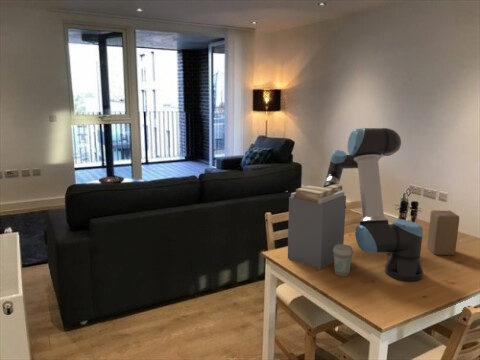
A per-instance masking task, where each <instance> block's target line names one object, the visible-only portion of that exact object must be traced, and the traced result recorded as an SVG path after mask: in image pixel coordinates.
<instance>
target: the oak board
mask: <svg viewBox="0 0 480 360" xmlns="http://www.w3.org/2000/svg"><path fill="white" fill-rule="evenodd" d="M340 191H343V184H339V185H338V184H334V185H331V186H327V187H323V186H319V185H318V186H316V185H313V184H310V185H306V186H303V187H299V188H295V192H296V198H299V199H303V200H308V201H313V202H318V199H319V198H322V197H325V196H328V195H331V194H333V193H335V192H340Z"/></svg>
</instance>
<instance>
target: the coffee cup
mask: <svg viewBox="0 0 480 360" xmlns="http://www.w3.org/2000/svg"><path fill="white" fill-rule="evenodd" d="M333 252H334V262H333V265H334V266H333V267H334V274H335V275H336V276H339V277H347V276H349V274H350V270H351V269H350V268H351V264H352V258H353V254H354V250H353V247H352V246H351V245H348V244H344V243H343V244H338V245H335V246H334V248H333Z"/></svg>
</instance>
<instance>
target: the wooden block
mask: <svg viewBox="0 0 480 360" xmlns="http://www.w3.org/2000/svg"><path fill="white" fill-rule="evenodd" d="M459 224H460V216H459V215H458V214H456V213H455V212H453V211H451V210H437V209H436V210H431V211H430V217H429V228H428V236H427V246H426V247H427V249H428V250H429V251H430V252H431V253H432V254H433V255H435V256H436V255H437V256H455V255H456V250H457V242H458V241H457V240H458V233H459V227H460V226H459Z"/></svg>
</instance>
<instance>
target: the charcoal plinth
mask: <svg viewBox="0 0 480 360" xmlns="http://www.w3.org/2000/svg"><path fill="white" fill-rule="evenodd" d="M346 203H347V196H346V195H345V190H341V191H338V192H337V193H334V194H331V195H328V196H325V197H322V198H319V199H318V202H313V201H308V200H303V199H299V198H296V191H294V192H291V193H290V196H289V197H288V228H287V234H288V235H287V259H289V260H291V261H295V262H298V263H301V264H304V265H307V266H309V267H312V268H316V269H318V270H322V269H324V268H325V267H326V266H329V265H330V264H332V263H334V252H333V248H334V246H335V245H338V244H344V239H345V224H346V222H345V221H346V209H347V204H346ZM345 208H346V209H345Z"/></svg>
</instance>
